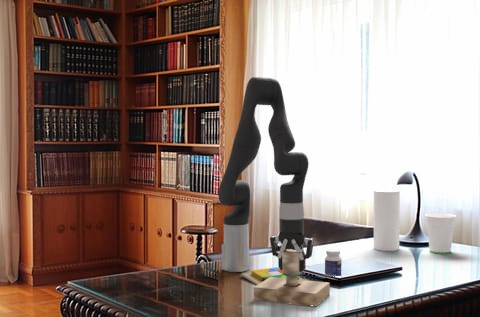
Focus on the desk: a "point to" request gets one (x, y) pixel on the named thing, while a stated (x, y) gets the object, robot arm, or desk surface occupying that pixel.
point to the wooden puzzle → (265, 275)
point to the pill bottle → (332, 263)
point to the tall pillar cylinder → (386, 219)
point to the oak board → (292, 291)
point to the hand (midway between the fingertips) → (292, 270)
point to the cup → (440, 232)
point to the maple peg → (291, 267)
